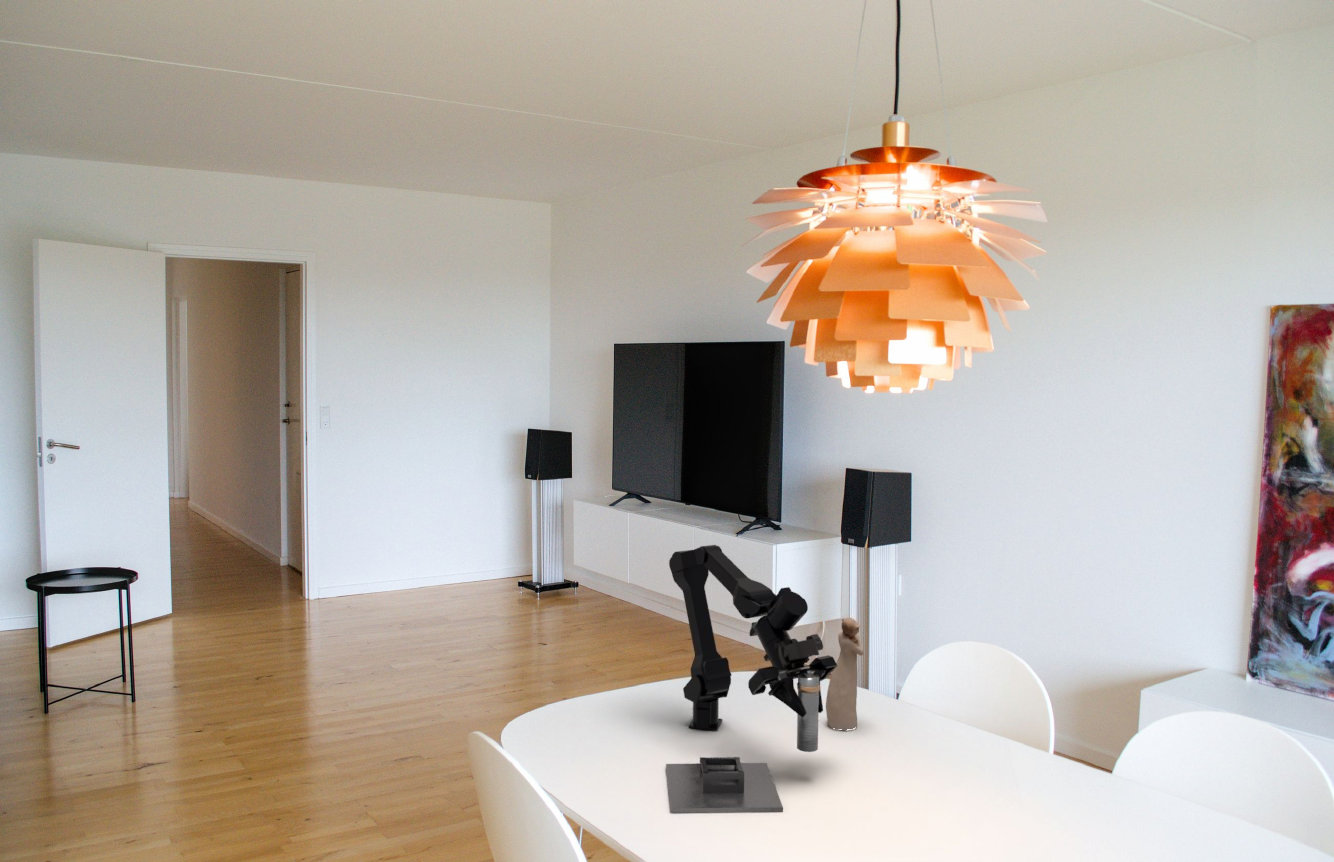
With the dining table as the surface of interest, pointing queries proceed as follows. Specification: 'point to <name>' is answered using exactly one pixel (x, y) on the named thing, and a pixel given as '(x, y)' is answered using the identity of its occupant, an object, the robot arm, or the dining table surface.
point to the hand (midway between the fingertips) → (812, 713)
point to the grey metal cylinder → (808, 712)
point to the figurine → (844, 679)
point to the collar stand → (721, 787)
